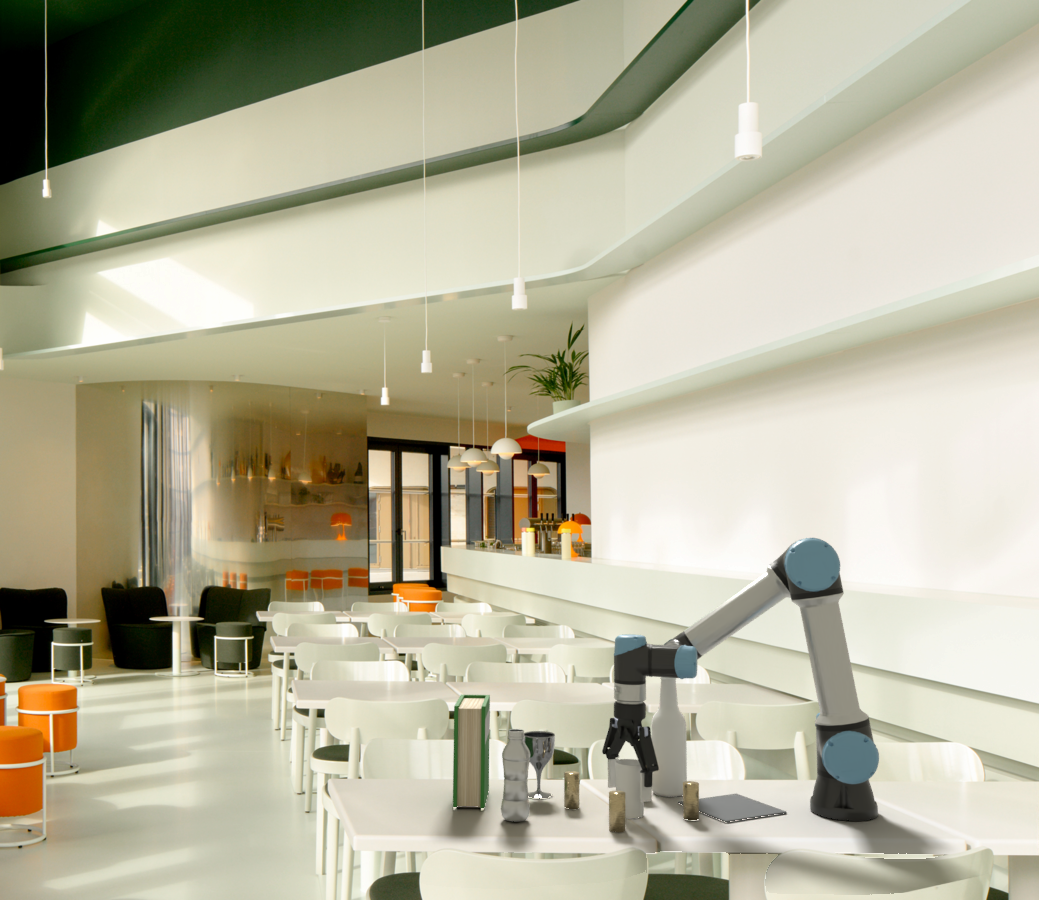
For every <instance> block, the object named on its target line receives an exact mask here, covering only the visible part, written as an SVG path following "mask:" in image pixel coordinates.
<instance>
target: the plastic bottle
mask: <svg viewBox="0 0 1039 900" xmlns="http://www.w3.org/2000/svg"><path fill="white" fill-rule="evenodd" d="M524 733H525V730H524V729H521V728H511V729H508V730H507V739H508V742H507V743H506V745H505V746H504V748H503V751H502V753H501V759H502V766H503V767H502V768H503V778H504V779H503V783H504V784H503V794H502V799H501V805H500V812H501V816H502V818H503V820H505V821H507V822H508V821H509V822H513V821H514V822H515V823H517V822H518V823H519V822H524V821H526V820H528V818H529V816H530V811H531V807H530V801H529V798H528V793H529V791H528V778H529V768H530V751H529V749H528V747H527V746H526V744H525V743H524V741H523V739H525V736H524Z"/></svg>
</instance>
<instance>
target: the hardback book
mask: <svg viewBox="0 0 1039 900" xmlns="http://www.w3.org/2000/svg"><path fill="white" fill-rule="evenodd" d="M490 696H491V695H490V694H460V695H459V697H458V699H457V701H456V702H455V704H454V706H453V707H454V709H453V714H454V715H453V761H452V762H453V763H452V764H453V765H452V766H453V769H452V770H453V771H452V772H453V773H452V775H453V776H452V779H453V780H452V808H453V807H457V806H478V807H477V808H484V807H485V808H486V806H485V803H486V804H487V801H486V799H487V800H488V797H487V795H488V796H489V793H488V791H489V792H490V719H491V718H490V717H491V715H490V713H491V712H490V709H491V708H490V707H491V702H490V701H491V697H490Z"/></svg>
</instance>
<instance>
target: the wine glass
mask: <svg viewBox="0 0 1039 900" xmlns="http://www.w3.org/2000/svg"><path fill="white" fill-rule="evenodd" d="M524 736H525V739H523V741H524V743H525V744H526V746H527V747H528V749H529V751H530V762H529V764H531V766H532V767H533V769H534V770H535V774H536V791H532V792H528V796H529V797H532V798H539V799H540V798H548V797H549V796H551V794H552V793H549V792H545V791H542V790H541V779H542V773H543V771H544V768H545V767H546V766H547V765H548V764H549V762H550V761H551V759H552V758H553V755H554V751H555V745H556V743H555V741H556V735H555V733H554V732H552V731H545V730H533V731H526V732H525V731H524Z"/></svg>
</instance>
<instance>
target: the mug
mask: <svg viewBox="0 0 1039 900" xmlns="http://www.w3.org/2000/svg"><path fill="white" fill-rule="evenodd" d="M641 770H642V768H641V766H640V763H639V761H638V759H635V758H622V759H621V758H619V760H617V761H615V775H616V787H615V791H623V792H625V819H628V820H629V819H630V820H633V818H637V819H639V818H638V817H641V818H643V817H644V813H645V812H644V811H645V802H640V771H641ZM642 816H643V817H642Z"/></svg>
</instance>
